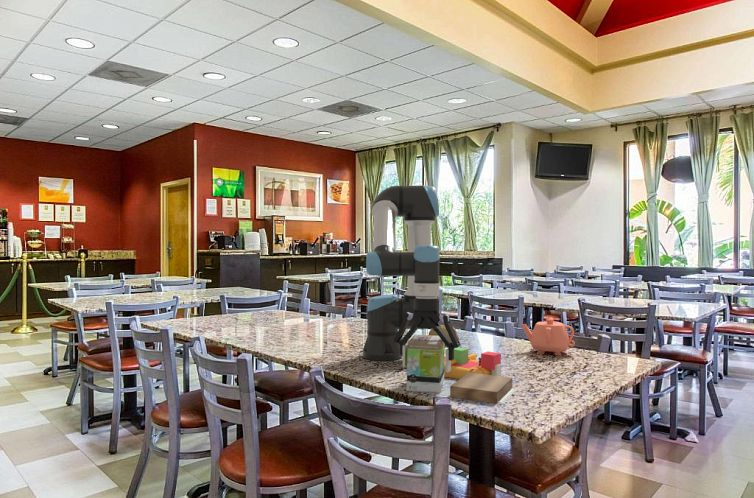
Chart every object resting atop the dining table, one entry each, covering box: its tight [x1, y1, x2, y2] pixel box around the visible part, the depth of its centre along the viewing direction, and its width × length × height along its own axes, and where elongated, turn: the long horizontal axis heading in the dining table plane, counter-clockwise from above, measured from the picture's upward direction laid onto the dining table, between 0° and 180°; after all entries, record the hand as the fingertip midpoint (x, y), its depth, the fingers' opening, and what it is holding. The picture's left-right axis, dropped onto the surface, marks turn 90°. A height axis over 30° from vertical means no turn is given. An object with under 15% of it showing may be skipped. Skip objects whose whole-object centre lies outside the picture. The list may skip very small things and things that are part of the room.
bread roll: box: [427, 324, 460, 342], centre depth 229 cm, size 10×15×8 cm, turn 46°
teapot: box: [521, 316, 576, 357], centre depth 210 cm, size 16×17×14 cm
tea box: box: [405, 334, 446, 394], centre depth 158 cm, size 15×10×15 cm
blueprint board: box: [438, 386, 518, 405], centre depth 150 cm, size 18×16×1 cm
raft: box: [444, 346, 502, 380], centre depth 174 cm, size 23×30×9 cm
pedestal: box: [449, 373, 513, 404], centre depth 150 cm, size 13×17×3 cm
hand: (426, 369), depth 157 cm, fingers open, 13 cm apart
